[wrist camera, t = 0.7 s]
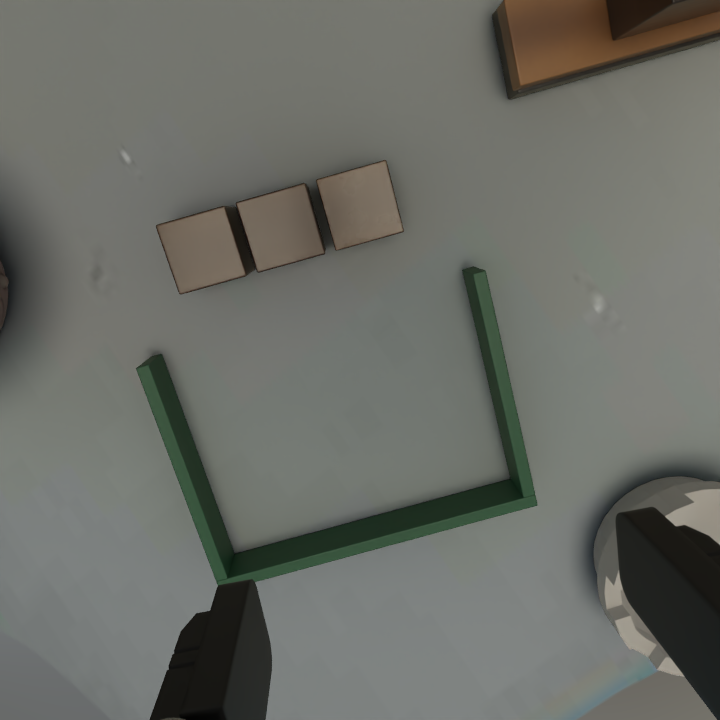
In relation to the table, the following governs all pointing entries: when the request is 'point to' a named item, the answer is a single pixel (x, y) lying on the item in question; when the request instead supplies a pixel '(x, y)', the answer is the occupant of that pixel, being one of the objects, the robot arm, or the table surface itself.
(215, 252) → the cube
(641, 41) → the hand brush
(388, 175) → the cube
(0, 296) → the flowerpot
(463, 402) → the table surface
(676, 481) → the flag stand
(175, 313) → the table surface
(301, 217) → the cube
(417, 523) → the frame
